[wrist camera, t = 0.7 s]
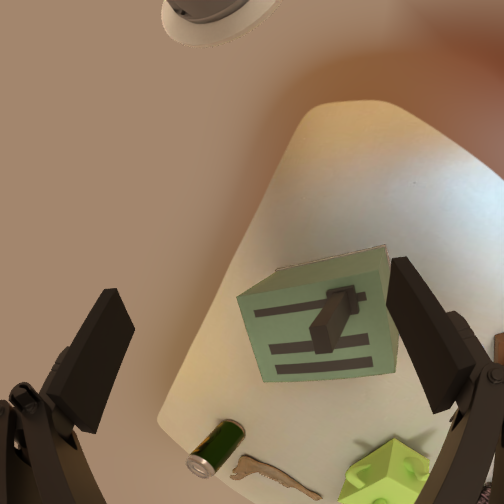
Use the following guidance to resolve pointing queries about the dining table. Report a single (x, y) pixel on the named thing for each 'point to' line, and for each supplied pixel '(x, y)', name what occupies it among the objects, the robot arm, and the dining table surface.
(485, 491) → the decorative flower
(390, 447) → the teapot
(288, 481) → the jawbone
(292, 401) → the dining table surface
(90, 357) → the robot arm
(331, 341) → the slider
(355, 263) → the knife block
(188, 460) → the green soda can
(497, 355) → the brown button base
